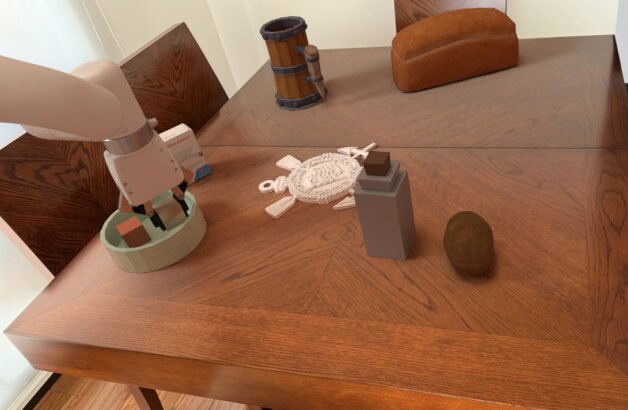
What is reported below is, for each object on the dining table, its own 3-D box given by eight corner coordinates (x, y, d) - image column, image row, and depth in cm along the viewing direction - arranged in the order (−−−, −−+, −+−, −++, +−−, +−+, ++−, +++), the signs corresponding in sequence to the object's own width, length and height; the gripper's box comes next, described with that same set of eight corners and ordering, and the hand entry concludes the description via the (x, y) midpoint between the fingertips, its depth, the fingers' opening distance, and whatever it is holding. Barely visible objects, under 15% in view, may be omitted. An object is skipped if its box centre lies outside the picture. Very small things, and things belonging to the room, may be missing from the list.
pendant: (394, 203, 95) (393, 197, 94) (250, 222, 97) (248, 216, 96) (390, 143, 111) (389, 137, 110) (267, 160, 113) (265, 155, 112)
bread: (389, 75, 138) (381, 19, 128) (500, 48, 141) (501, -9, 132) (402, 96, 127) (394, 36, 118) (523, 66, 131) (525, 5, 121)
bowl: (133, 288, 87) (118, 266, 84) (102, 243, 99) (88, 222, 95) (222, 234, 95) (212, 212, 92) (184, 198, 106) (174, 177, 103)
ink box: (203, 165, 116) (183, 121, 108) (212, 173, 112) (192, 128, 105) (168, 183, 112) (145, 138, 105) (176, 192, 109) (153, 146, 101)
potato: (454, 290, 76) (451, 254, 71) (436, 237, 86) (432, 202, 81) (506, 279, 76) (506, 243, 71) (482, 227, 86) (481, 192, 81)
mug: (350, 97, 131) (334, 21, 119) (306, 121, 125) (284, 43, 112) (308, 80, 144) (289, 10, 131) (265, 101, 137) (242, 29, 125)
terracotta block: (131, 251, 94) (121, 235, 92) (124, 241, 97) (114, 226, 94) (151, 239, 96) (142, 224, 94) (144, 230, 99) (135, 215, 96)
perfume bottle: (367, 255, 85) (347, 169, 74) (379, 228, 90) (363, 144, 78) (405, 260, 83) (391, 172, 71) (416, 233, 87) (404, 146, 76)
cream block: (168, 231, 91) (158, 215, 89) (160, 222, 94) (150, 206, 91) (188, 220, 93) (179, 203, 90) (179, 211, 95) (171, 195, 93)
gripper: (166, 109, 88) (205, 191, 99) (70, 153, 80) (123, 236, 92) (184, 121, 83) (222, 206, 95) (83, 169, 76) (137, 255, 87)
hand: (173, 220), depth 93 cm, fingers closed on cream block, 3 cm apart
